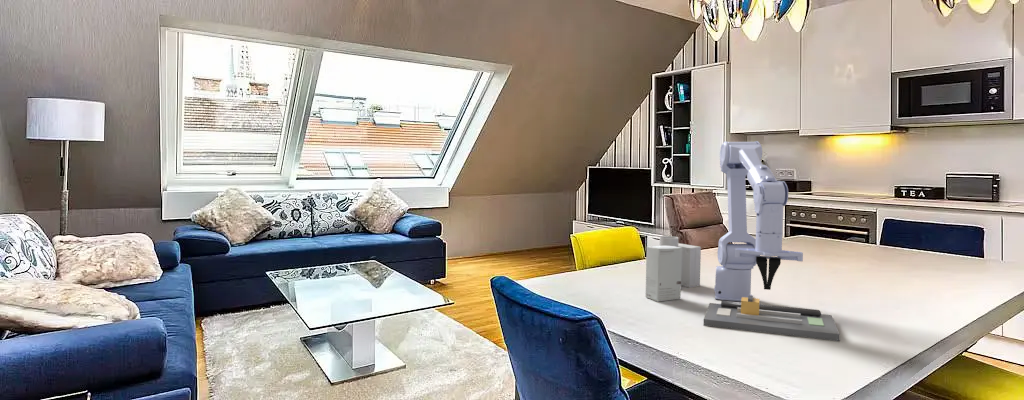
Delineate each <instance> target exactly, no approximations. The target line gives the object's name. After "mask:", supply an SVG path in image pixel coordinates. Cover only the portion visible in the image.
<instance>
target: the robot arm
mask: <svg viewBox="0 0 1024 400" xmlns="http://www.w3.org/2000/svg"><path fill="white" fill-rule="evenodd" d="M762 158H763V146H762V144H761V143H760V142H759V141H758V140H755V141H728V140H727V141H725V140H724V141H723V142H722V144H721V147H720V149H719V165H720V166H719V167H720V172H722V173H723V174H725V175H726V180H727V181H726V182H727V183H726V185H727V210H728V211H727V215H728V217H727V218H728V232H726V233H725V234H724V235H723V236H721V237H720V238H719V240H718V247H717V260H718V263H719V265H717V266H716V267H715V280H714V281H715V285H714V299H715V300H720V301H732V302H741V299H742V297H747V298H748V295H751V296H753V294H751V293H752V292H751V291H752V290H751V289H752V270H753V269H754V267H755V266H757V267H758V270H759V272H760V275H761V278H762V282H763V289H764V290H768V291H769V290H770V291H771V286H772V284H773V280H774V277H775V275H776V273H777V271H778V269H779V267H780V265H781V260H782V261H794V262H795V261H797V262H803V259H804V252H803V251H795V250H794V251H792V250H785V249H784V250H783V230H784V229H783V228H784V227H783V225H784V224H783V223H784V222H783V221H784V207H785V206H786V205H787V203H788V201H789V188H788V185H787V182H786V181H781V180H778V179H777V177H775V174H774V173H773V171H772V170H771V168H770V167H769V166H767V164H763V162H762ZM746 178H747V181H748V183H749V184H750V186H751V188H752V191H753V192H752V193H753V194H752V195H753V196H752V198H753V204H754V212H755V213H756V218H755V221H756V223H755V237H754V236H752V235H751V234H749V232H748V226H747V225H748V222H747V220H748V218H747V188H746V187H747V186H746V185H747V184H746Z"/></svg>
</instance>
